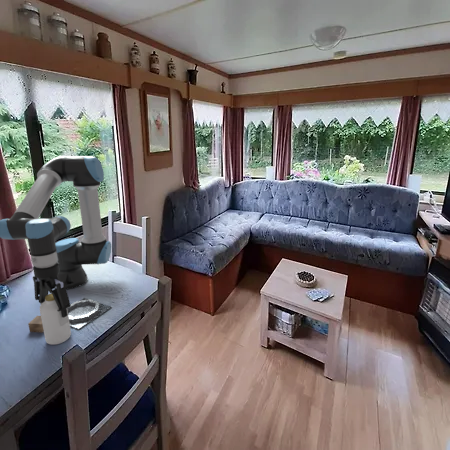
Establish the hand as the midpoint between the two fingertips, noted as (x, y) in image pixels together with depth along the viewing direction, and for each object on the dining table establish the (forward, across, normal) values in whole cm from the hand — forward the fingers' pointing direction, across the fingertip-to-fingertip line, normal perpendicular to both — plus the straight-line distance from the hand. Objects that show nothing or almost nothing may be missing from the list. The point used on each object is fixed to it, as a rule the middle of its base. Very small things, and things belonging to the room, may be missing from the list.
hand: (55, 320), depth 101 cm
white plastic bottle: (+8, 0, 0) cm, 8 cm away
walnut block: (+8, -12, +1) cm, 14 cm away
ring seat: (+8, -6, +15) cm, 18 cm away
